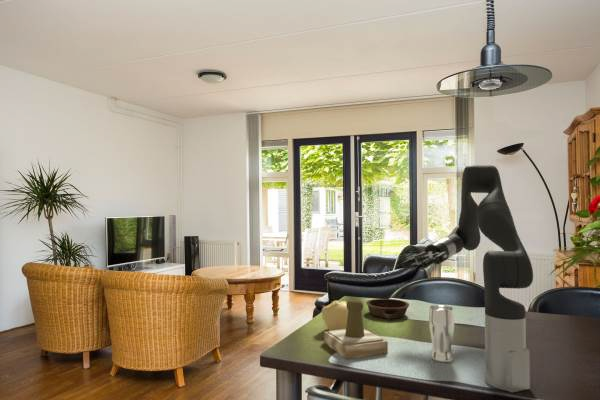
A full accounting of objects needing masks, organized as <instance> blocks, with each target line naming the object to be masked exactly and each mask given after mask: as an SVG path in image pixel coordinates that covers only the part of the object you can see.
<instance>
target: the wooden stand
mask: <svg viewBox="0 0 600 400" xmlns="http://www.w3.org/2000/svg"><path fill="white" fill-rule="evenodd" d="M345 333H346V329H341V330H333V331H330V330H328V331H327V330H326V331H323V344H325V345H326V346H328V347H329V348H331V349H332V350H334V351H335V352H336V353H337V354H339V355H340V356H341V357H343V358H344V359H346V360H350V359H351V360H352V359H358V358H363V357H364V358H365V357H370V356H377V354H379V355H383V353H385V354H388V353H389V351H388V348H389V347H388V346H389V341H388V340H387V339H384V338H382V337H380V336H378V335H377V334H375V333H373V332H371V331H369V330H367V329H366V328H364V337H361V338H351V337H347V336H346V335H345Z"/></svg>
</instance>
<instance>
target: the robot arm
mask: <svg viewBox="0 0 600 400" xmlns="http://www.w3.org/2000/svg"><path fill="white" fill-rule="evenodd" d="M460 192H461V193H460V198H461V199H460V203H461V204H460V214H459V218H458V223H457V226H455V227H454V229H453V230H452V232H450V234H448V235H447V236H446V237H443V238H440V239H438V240H436V241H434V242H431V243H430V244H428V245H426V247H425V249H424V251H422V252H420V253H413V254H412V255H409V256H408V257H407V256H406V257H405V258H404V261H402V263H401V265H402V268H403V269H407V268H409V267H411V266H414V265H416V266H420V265H421V266H422V268H423V269H426V268H428V267H430V266H432V265H433V266H434V265H436V266H437V265H440V264H442V263H444V262H446V261H447V260H449V259H451V258H452V257H454V256H455V255H457V254H458V253H460V252H461V251H462V250H463V249H465V250H467V251H469V252H470V251H475V250H476V249H478V247H479V245H480V243H481V233H482V234H483V235H484V237H486V238H487V239H488V240H490V241H491V242H492V243H494V244H495V245H496V246H497V247H499V248H500V249H501V250H489V251H485V253H484V255H483V259H482V260H483V261H482V272H483V287H484V288H483V289H484V290H483V291H484V355H485V357H484V364H485V369H484V370H485V371H484V372H485V383H486V384H487V385H489V386H490V387H493V388H495V389H498V390H503V391H507V392H510V393H517V392H521V391H525V390H530V389H531V387H530V386H531V374H530V372H531V369H530V368H531V364H530V363H531V362H530V356H531V355H530V353H531V352H530V350H529V348H527V345H526V344H527V341H526V335H527V333H526V332H527V331H526V328H527V327H526V326H527V325H526V307H525V305H524V304H522V303H521V302H519V301H516V300H513V299H510V298H508V297H506V296H505V295H502V293H501V292H500V289H525V288H527V289H528V288H529V287H531V285H532V283H533V281H534V271H533V266H532V262H531V259H530V256H529V255H528V253H527V252H528V251H527V250H526V249H525V246H524V244H523V242H522V241H521V238H520V236H519V234H518V231H517V228H516V225H515V222H514V218H513V215H512V212H511V209H510V207H509V205H508V201H507V200H506V196H505V194H504V190H503V185H502V180H501V176H500V172H499V170H498V167H496V165H490V164H469V165H466V166H465V167H464V169H463V171H462V177H461V191H460ZM472 193H474V194H476V193H477V194H487V195H485V197H483V199H482V200H481V201H480V202H479V204H477V202H476V201H475V199H474V198H473V196H472Z"/></svg>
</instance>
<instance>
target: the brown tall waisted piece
mask: <svg viewBox="0 0 600 400" xmlns="http://www.w3.org/2000/svg"><path fill="white" fill-rule="evenodd" d="M346 303H347V309H348V317H347V325H346V333H345V335H346V336H347V337H351V338H361V337H364V329H365V328H364V322H363V313H362V311H363V308H364V304H363V302H362V300H360V299H349V300H348V301H346Z"/></svg>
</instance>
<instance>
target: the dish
mask: <svg viewBox="0 0 600 400" xmlns="http://www.w3.org/2000/svg"><path fill="white" fill-rule="evenodd" d="M365 303H366V305H367V308H368V312H369V313H370V314H372V316H375V317H378V318H381V319H387V320H392V319H393V320H394V319H399V318H402V317H404V316H405V315H406V313H407V310H408V308H409V307H410V304H409V302H407V301H404V300H400V299H396V298H395V299H394V298H375V299H370V300H367V301H366V302H365Z"/></svg>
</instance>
